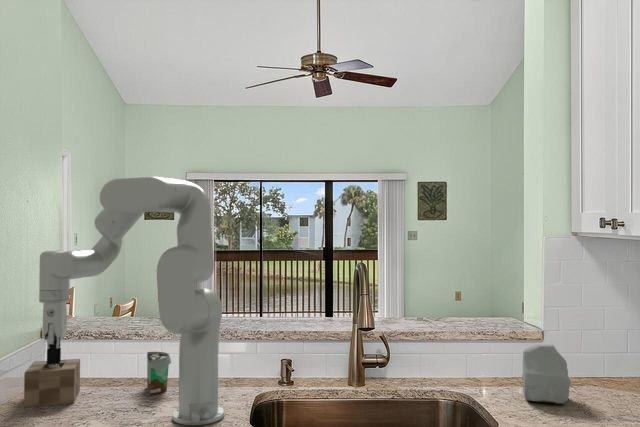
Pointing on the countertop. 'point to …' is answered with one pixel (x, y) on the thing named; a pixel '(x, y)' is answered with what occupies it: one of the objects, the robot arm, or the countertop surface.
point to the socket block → (51, 383)
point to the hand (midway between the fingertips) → (53, 363)
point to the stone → (545, 374)
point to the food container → (157, 372)
